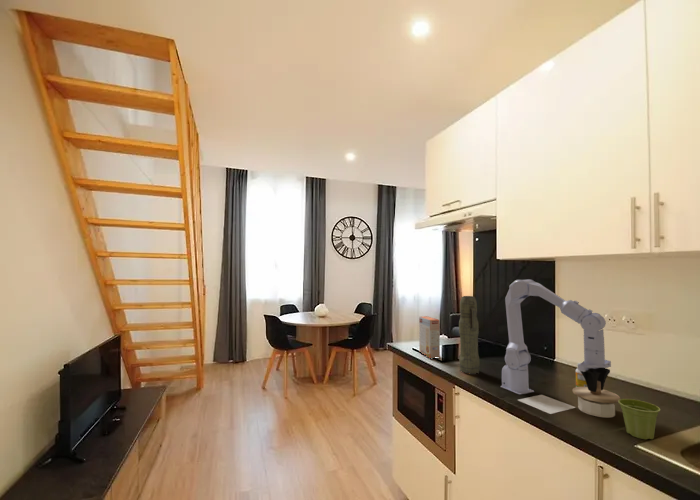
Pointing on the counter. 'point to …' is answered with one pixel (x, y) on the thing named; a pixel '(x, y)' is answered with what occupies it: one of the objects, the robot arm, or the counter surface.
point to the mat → (546, 404)
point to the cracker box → (429, 337)
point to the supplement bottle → (580, 379)
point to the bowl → (596, 408)
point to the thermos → (468, 335)
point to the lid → (596, 394)
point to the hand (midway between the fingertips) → (595, 390)
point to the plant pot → (639, 417)
